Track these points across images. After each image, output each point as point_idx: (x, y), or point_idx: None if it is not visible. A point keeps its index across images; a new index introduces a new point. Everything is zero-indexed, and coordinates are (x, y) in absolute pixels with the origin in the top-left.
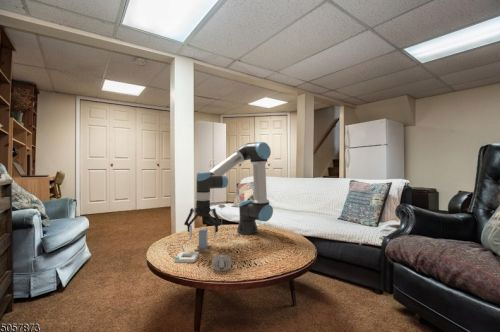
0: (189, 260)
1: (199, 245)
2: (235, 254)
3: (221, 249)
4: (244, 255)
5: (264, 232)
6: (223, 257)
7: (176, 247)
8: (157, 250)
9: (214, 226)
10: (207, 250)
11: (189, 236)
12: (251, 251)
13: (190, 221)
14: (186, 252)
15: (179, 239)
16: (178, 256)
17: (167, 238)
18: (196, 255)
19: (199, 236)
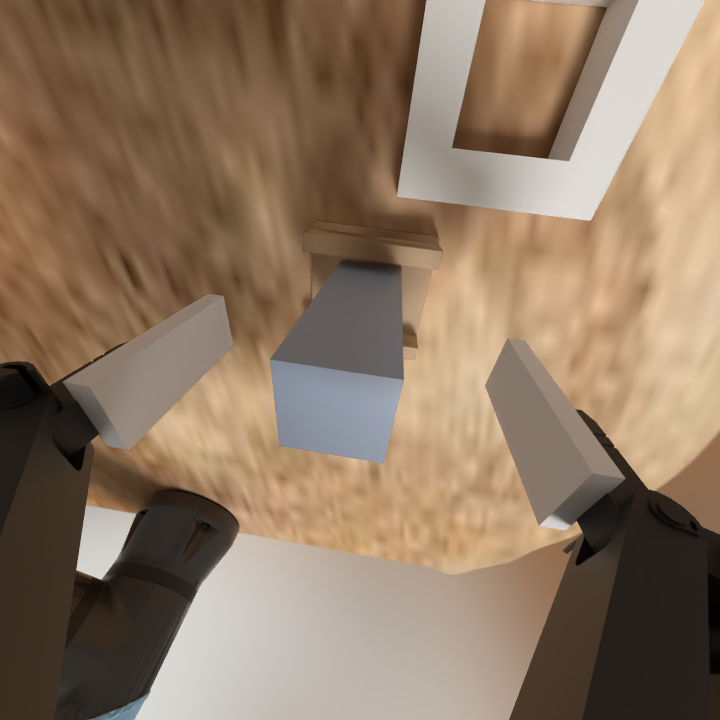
0: None
1: (395, 284)
2: (119, 216)
3: (251, 331)
4: (42, 183)
5: (120, 499)
6: None
7: None
8: (716, 378)
9: (101, 413)
10: (320, 233)
11: (531, 353)
12: (40, 266)
13: (705, 643)
14: (528, 192)
15: (515, 505)
16: (662, 27)
17: (579, 526)
18: (422, 56)
19: (393, 324)
